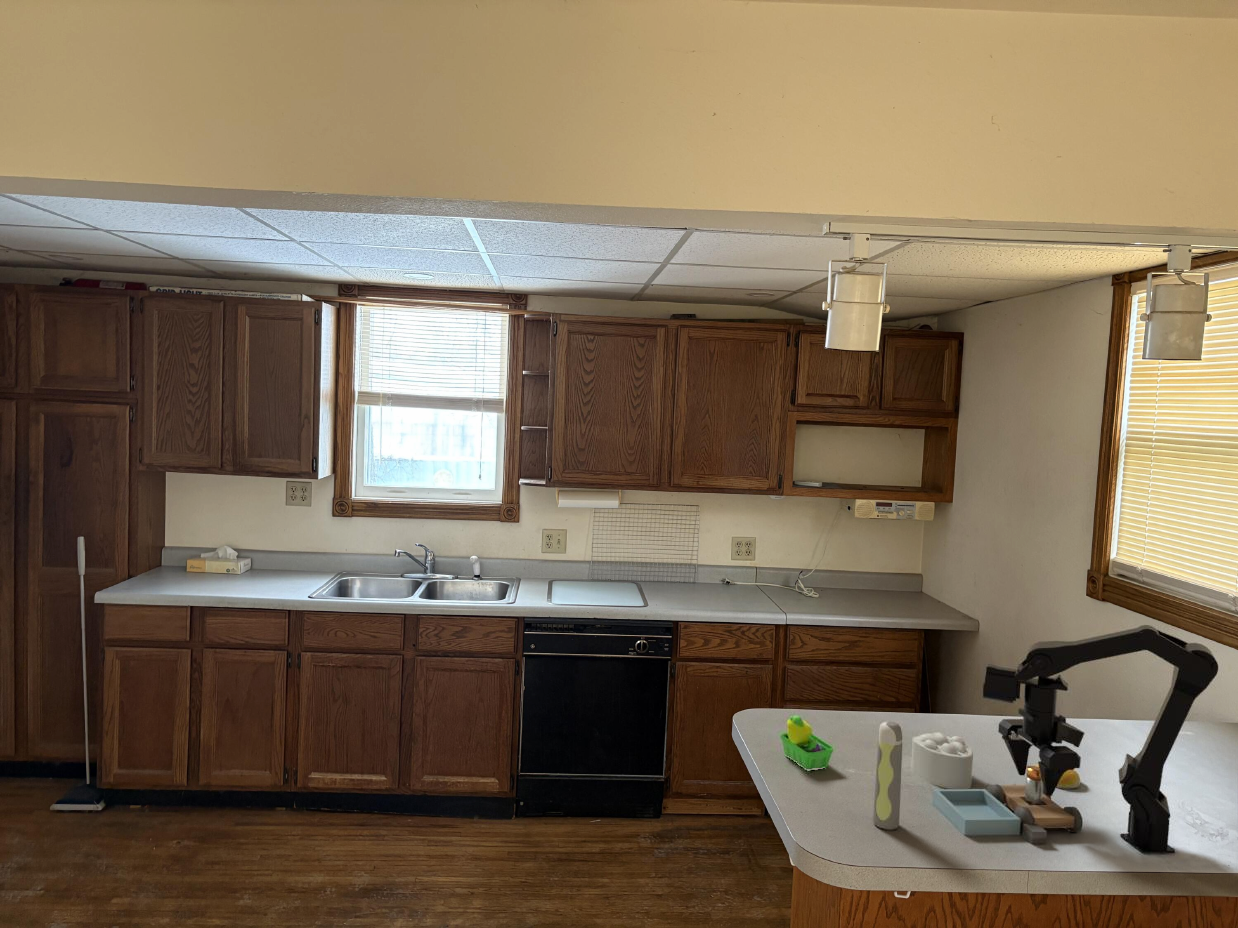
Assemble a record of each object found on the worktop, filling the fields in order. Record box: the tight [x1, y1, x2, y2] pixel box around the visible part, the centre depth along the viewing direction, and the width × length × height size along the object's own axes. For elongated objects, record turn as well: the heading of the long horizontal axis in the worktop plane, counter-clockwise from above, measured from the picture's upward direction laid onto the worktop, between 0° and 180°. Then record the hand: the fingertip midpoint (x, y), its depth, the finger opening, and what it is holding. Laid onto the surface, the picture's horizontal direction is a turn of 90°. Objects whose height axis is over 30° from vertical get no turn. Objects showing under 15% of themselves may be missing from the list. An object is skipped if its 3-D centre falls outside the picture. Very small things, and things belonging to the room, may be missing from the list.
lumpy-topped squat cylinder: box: [910, 731, 974, 789], centre depth 186 cm, size 10×13×9 cm
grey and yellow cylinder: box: [872, 720, 903, 831], centre depth 162 cm, size 5×5×20 cm
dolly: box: [986, 784, 1084, 845], centre depth 166 cm, size 17×12×4 cm
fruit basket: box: [779, 715, 835, 769], centre depth 191 cm, size 11×9×11 cm
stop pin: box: [1025, 765, 1043, 805], centre depth 168 cm, size 3×3×10 cm
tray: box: [932, 788, 1021, 836], centre depth 167 cm, size 13×11×3 cm
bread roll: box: [1035, 764, 1081, 790], centre depth 186 cm, size 8×9×4 cm
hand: (1035, 784), depth 167 cm, fingers open, 9 cm apart
